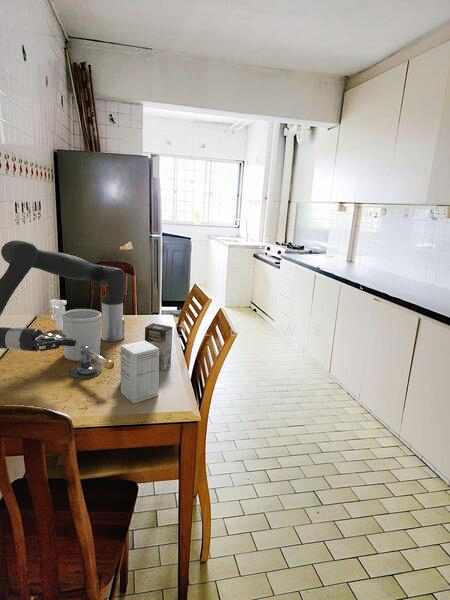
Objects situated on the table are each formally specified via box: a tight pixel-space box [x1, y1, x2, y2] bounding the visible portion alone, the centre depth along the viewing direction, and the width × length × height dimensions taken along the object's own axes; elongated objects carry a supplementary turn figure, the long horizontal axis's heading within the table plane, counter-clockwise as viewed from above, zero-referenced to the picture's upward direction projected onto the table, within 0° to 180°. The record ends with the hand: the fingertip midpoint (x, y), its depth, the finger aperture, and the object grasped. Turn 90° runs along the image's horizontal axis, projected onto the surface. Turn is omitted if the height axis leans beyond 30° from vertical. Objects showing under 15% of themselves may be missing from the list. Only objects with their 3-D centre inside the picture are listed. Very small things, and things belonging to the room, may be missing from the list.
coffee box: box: [144, 322, 173, 371], centre depth 151 cm, size 9×6×16 cm
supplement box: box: [120, 340, 160, 404], centre depth 127 cm, size 10×9×17 cm
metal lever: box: [76, 345, 115, 376], centre depth 136 cm, size 20×7×9 cm, turn 46°
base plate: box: [69, 366, 102, 380], centre depth 142 cm, size 11×11×1 cm
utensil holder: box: [62, 308, 102, 362], centre depth 156 cm, size 15×15×18 cm
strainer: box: [49, 298, 67, 332], centre depth 186 cm, size 7×7×15 cm
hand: (75, 342), depth 129 cm, fingers closed
